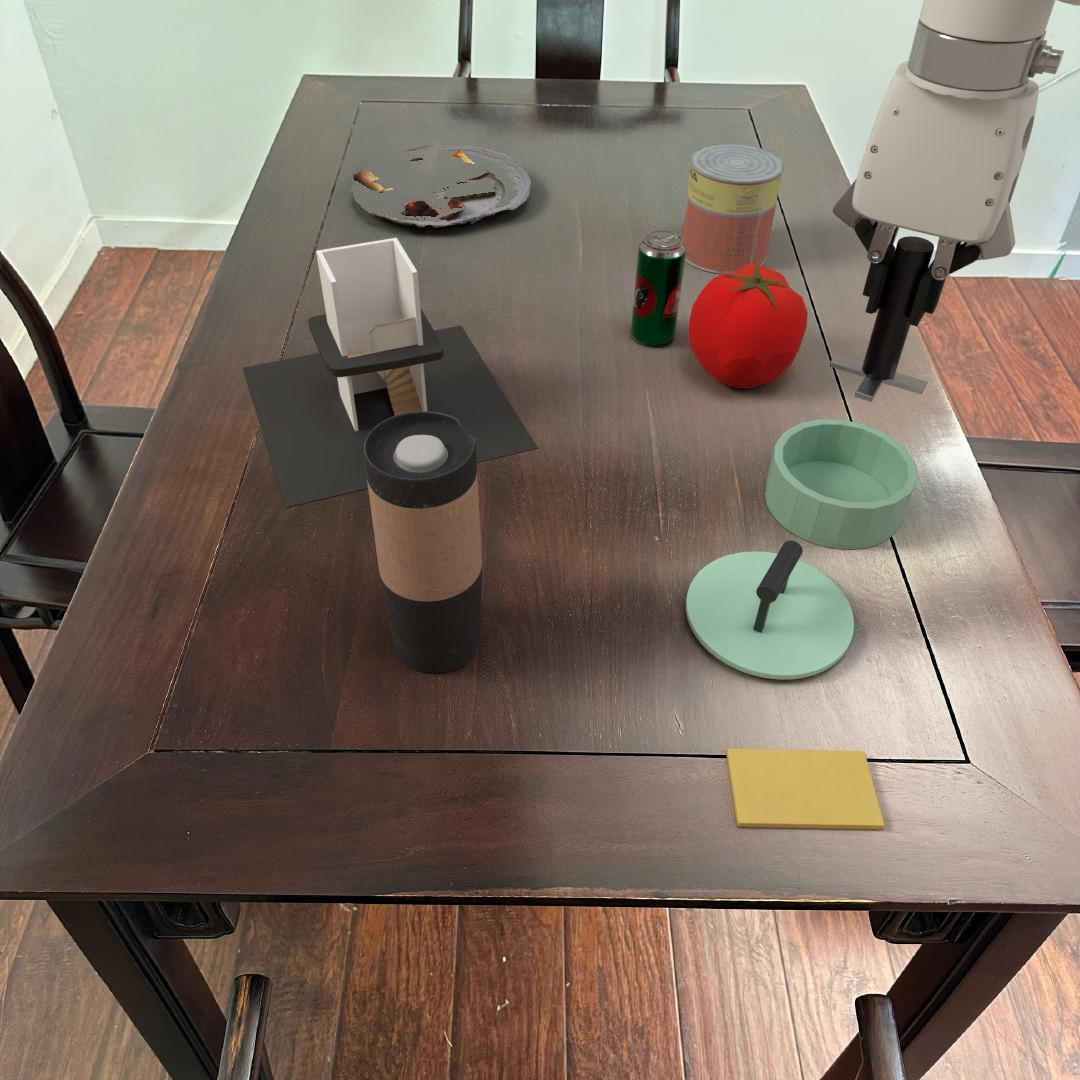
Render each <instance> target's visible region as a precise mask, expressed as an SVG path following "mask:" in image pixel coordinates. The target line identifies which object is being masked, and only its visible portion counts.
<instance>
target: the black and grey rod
mask: <svg viewBox="0 0 1080 1080" xmlns="http://www.w3.org/2000/svg"><path fill="white" fill-rule="evenodd" d="M934 250H935V244H933V242H932V241H930V240H928V239H927V238H924V237H920V236H912V235H910V236H907V235H906V236H903V237H901V238H898V240H897V242H896V247H895V253H894V256H893V260H892V264H891V267H890V271H889V274H888V278H887V281H886V285H885V289H884V292H883V296H882V299H881V303H880V306H879V309H878V310H877V312H876V313H877V314H876V316H875V321H874V324H873V328H872V331H871V335H870V338H869V342H868V346H867V348H866V353H865V356H864V358H863V361H860V360H856V359H853V358H850V357H846V356H844V355H840V354H834V356H833V357H832V359H831V360H830V362H829V368H832V369H836V370H838V371H842V372H845V373H849V374H852V375H855V376H859V377H862V378H863V379H862V381H861V382H860V384H859V385H858V387H857V389H856V390H855V392H854V394H853V395H854V397H853V398H856V399H861V400H864V401H866V402H870V403H871V402H873V400H874V398H875V397H876V395H877V394H878V392H879V390H880V388H881V387H882V385H883V384H885V385H887V386H891V387H895V388H898V389H902V390H904V391H908V392H911V393H914V394H917V395H922V394H923V393H924V391H925V389H926V387H927V384H928V380H924V379H921V378H917V377H914V376H910V375H907V374H904V373H900V372H897V370H898V366H899V362H900V360H901V356H902V353H903V350H904V346H905V344H906V341H907V337H908V333H909V330H910V327H911V325H910V323H909V322H908V320H909V317H910V314H911V310H912V307H913V304H914V301H915V297H916V294H917V291H918V288H919V284H920V281H921V279H922V277H923V275H924V273H925V272H926V271H927V270H928V267H929V266H930V264H931V260H932V257H933V254H934Z"/></svg>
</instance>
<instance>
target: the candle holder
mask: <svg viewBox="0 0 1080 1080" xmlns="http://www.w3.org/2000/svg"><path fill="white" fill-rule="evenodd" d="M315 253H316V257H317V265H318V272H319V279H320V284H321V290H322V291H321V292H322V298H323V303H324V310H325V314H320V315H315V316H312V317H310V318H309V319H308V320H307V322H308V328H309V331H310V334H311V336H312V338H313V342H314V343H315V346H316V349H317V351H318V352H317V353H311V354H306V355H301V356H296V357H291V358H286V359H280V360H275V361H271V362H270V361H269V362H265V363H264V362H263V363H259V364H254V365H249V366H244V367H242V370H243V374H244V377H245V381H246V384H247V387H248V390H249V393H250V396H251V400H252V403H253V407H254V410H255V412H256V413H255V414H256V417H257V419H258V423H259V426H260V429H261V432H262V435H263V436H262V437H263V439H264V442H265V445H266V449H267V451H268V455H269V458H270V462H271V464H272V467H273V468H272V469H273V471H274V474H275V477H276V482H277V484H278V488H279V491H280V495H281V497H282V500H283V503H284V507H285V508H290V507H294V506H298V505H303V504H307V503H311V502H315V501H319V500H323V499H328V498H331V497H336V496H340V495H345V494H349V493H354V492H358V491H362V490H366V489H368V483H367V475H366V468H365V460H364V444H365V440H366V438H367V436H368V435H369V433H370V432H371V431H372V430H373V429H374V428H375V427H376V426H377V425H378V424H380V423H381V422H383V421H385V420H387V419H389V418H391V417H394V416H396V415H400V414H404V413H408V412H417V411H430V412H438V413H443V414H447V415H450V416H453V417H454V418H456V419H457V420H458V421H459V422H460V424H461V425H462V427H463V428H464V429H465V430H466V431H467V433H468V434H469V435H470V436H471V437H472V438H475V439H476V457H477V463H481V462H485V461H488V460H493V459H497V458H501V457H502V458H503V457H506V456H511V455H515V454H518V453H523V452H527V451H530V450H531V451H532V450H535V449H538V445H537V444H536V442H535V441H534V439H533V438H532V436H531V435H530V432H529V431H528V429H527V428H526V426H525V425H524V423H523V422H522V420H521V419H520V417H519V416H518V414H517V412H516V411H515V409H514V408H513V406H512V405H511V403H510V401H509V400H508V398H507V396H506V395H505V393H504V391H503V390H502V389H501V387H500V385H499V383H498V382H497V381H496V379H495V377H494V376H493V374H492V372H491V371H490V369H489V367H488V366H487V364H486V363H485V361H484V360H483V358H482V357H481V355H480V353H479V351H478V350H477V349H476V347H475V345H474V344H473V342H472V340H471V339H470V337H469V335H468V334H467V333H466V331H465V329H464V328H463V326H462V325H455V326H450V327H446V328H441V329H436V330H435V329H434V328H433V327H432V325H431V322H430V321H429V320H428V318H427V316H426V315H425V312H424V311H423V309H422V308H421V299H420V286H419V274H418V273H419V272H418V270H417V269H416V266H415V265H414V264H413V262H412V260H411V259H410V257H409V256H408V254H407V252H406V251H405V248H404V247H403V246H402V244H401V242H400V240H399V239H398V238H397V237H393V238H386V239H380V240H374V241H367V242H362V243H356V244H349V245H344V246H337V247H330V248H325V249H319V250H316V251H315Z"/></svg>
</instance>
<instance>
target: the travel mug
mask: <svg viewBox="0 0 1080 1080" xmlns="http://www.w3.org/2000/svg"><path fill="white" fill-rule="evenodd" d="M364 460H365V468H366V475H367V483H368V488H367V489H368V497H369V504H370V505H369V506H370V511H371V513H370V514H371V521H372V527H373V535H374V536H373V537H374V543H375V549H376V557H377V565H378V572H379V578H380V583H381V588H382V593H383V598H384V603H385V609H386V615H387V619H388V625H389V629H390V635H391V640H392V644H393V645H392V646H393V649H394V651H395V653H396V655H397V657H398V658H399V660H400V661H401V662H403V663H404V664H405V665H406V666H408V668H411V669H413V670H415V671H418V672H421V673H427V674H443V673H449V672H452V671H455V670H457V669H460V668H461V667H464V666H465V665H467V664H468V663H469V662H470V661H472V659H473V658H474V657H475V656H476V654H477V653H478V651H479V649H480V647H481V643H482V635H483V554H482V550H483V549H482V533H481V516H480V515H481V514H480V513H481V512H480V498H479V495H480V494H479V480H478V479H479V478H478V462H477V457H476V439H475V438H472V437H471V436H470V435H469V434H468V433H467V431H466V430H465V429H464V428H463V427H462V425H461V424H460V422H459V421H458V420H457V419H456V418H454V417H453V416H450V415H447V414H443V413H438V412H430V411H417V412H408V413H404V414H400V415H396V416H394V417H391V418H389V419H387V420H385V421H383V422H381V423H380V424H378V425H377V426H376V427H375V428H374V429H373V430H372V431H371V432H370V433H369V435H368V436H367V438H366V440H365V444H364Z"/></svg>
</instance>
